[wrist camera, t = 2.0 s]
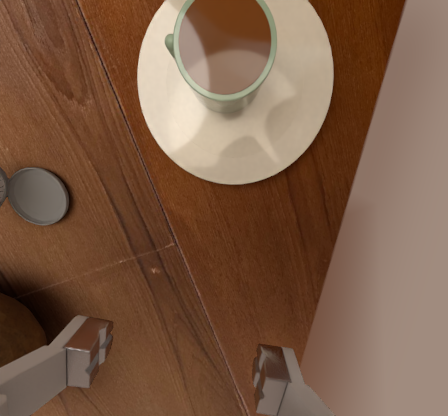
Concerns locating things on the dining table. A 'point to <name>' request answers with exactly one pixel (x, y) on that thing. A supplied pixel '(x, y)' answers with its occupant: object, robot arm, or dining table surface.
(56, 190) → the pocket watch
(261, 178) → the plate
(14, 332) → the bowl
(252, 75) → the teacup
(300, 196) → the dining table surface
